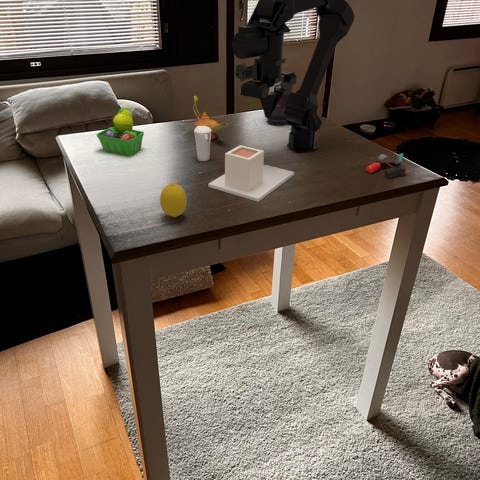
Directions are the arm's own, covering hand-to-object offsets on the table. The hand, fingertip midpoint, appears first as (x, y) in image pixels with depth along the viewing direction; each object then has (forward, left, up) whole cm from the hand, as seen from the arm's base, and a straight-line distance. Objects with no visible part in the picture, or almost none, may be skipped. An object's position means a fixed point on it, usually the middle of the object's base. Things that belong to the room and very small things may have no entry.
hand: (267, 117), depth 123 cm
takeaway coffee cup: (+15, -7, -12) cm, 21 cm away
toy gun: (-26, +16, -13) cm, 33 cm away
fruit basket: (+34, -22, -12) cm, 42 cm away
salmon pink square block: (+12, +13, -7) cm, 19 cm away
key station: (+9, +10, -12) cm, 18 cm away
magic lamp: (+8, -22, -12) cm, 26 cm away
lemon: (+32, +21, -12) cm, 40 cm away
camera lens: (-18, -28, -12) cm, 35 cm away
